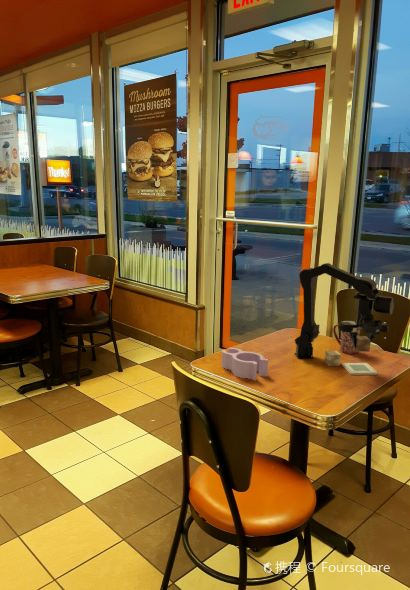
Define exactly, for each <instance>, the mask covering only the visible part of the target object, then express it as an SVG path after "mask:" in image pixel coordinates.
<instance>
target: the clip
mask: <svg viewBox="0 0 410 590" xmlns="http://www.w3.org/2000/svg"><path fill="white" fill-rule="evenodd" d="M222 367H223V368H222ZM221 368H222V369H224V368H225V369H224V370H227V369H229V370H228V371H230V370H231V371H230V372H231V373H233V374H234V375H233V374H232V375H233V376H235V377H236V376H237V378H239V377H240V379H244V378H248V379H247V380H249V379H250V380H252V381H253V380H254V381H255V380H256V381H257V374H258V376H259V377H260V376H261V377H268V368H269V359H268V358H265V357H264V355H262V354H260V353H258V352H253V351H244V350H242V349H240V348H236V347H228V352H227V351H226V349H222V351H221Z"/></svg>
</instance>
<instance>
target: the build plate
mask: <svg viewBox="0 0 410 590" xmlns="http://www.w3.org/2000/svg"><path fill="white" fill-rule="evenodd" d="M340 366H342V367H343V368H344V369H345V370H346V371H347V372H348V374H350V375H351V376H355V375H356V376H357V375H359V376H362V375H368V376H370V375H371V376H373V375H375V376H376V375H377V376H378V375H379V372H378V371H377V370H375V368H374V367H372V366H371V365H369V363H367V362H342V363H340Z"/></svg>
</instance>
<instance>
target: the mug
mask: <svg viewBox="0 0 410 590" xmlns="http://www.w3.org/2000/svg"><path fill="white" fill-rule="evenodd" d="M342 322H349V323H351V324H356V323H355V321H352V320H343V321H342ZM337 327H339V323H337V324H335V325H333V328H332V329H333V331H332V332H333V336H334V338H335V340H336V341H337V343H338V345H339V346H340V347H339V351H340V352H341V353H344V354H347V355H348V354H349V355H353V354H357V351H356V350H355V349H354V348H353V342H352V339H351V336H350V334H349V332H343V331H341V330H340V339H339V336H338V334H337V332H336V329H337ZM356 332H357V333H358V334H357V336H360V333H361V329H356Z"/></svg>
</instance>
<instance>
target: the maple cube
mask: <svg viewBox="0 0 410 590" xmlns="http://www.w3.org/2000/svg"><path fill="white" fill-rule="evenodd" d="M324 353H325V354H324V363H325V364H326V365H327V366H329V367H340V366H341V360H342V359H341V357H342V354H341V353H340V352H338V350H325V352H324Z"/></svg>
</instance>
